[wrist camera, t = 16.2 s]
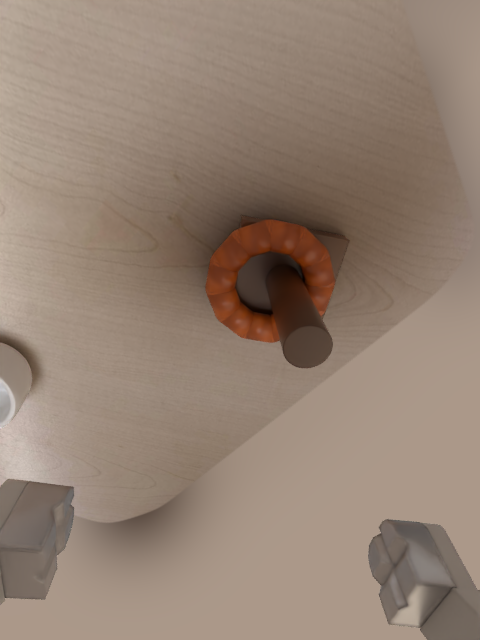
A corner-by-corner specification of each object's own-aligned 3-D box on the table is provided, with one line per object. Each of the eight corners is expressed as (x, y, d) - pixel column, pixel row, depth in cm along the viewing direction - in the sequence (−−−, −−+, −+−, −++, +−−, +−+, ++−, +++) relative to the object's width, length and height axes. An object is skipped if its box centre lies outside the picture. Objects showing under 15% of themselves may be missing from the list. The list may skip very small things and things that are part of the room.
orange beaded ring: (346, 232, 31) (355, 239, 28) (309, 341, 35) (315, 355, 33) (219, 205, 29) (219, 211, 27) (198, 322, 34) (196, 335, 32)
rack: (344, 235, 32) (407, 292, 21) (314, 327, 36) (353, 415, 25) (241, 214, 31) (250, 263, 20) (221, 311, 35) (220, 396, 24)
